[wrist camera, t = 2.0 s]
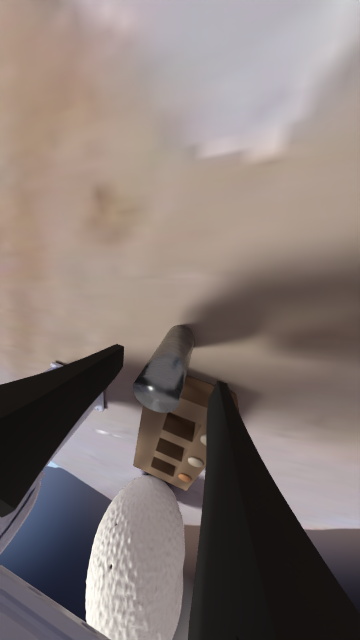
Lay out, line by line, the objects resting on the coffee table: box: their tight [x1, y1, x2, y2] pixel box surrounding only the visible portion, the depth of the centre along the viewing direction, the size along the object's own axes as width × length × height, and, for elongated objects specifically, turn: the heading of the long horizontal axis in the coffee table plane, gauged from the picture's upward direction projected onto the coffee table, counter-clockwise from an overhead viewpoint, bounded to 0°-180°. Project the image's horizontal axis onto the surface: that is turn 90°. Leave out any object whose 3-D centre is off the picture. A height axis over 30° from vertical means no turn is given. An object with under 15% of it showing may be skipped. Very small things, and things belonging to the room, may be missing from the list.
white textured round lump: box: [86, 475, 185, 640], centre depth 24 cm, size 20×18×16 cm
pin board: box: [133, 376, 239, 491], centre depth 19 cm, size 10×22×3 cm, turn 167°
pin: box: [133, 325, 195, 413], centre depth 11 cm, size 3×3×7 cm
